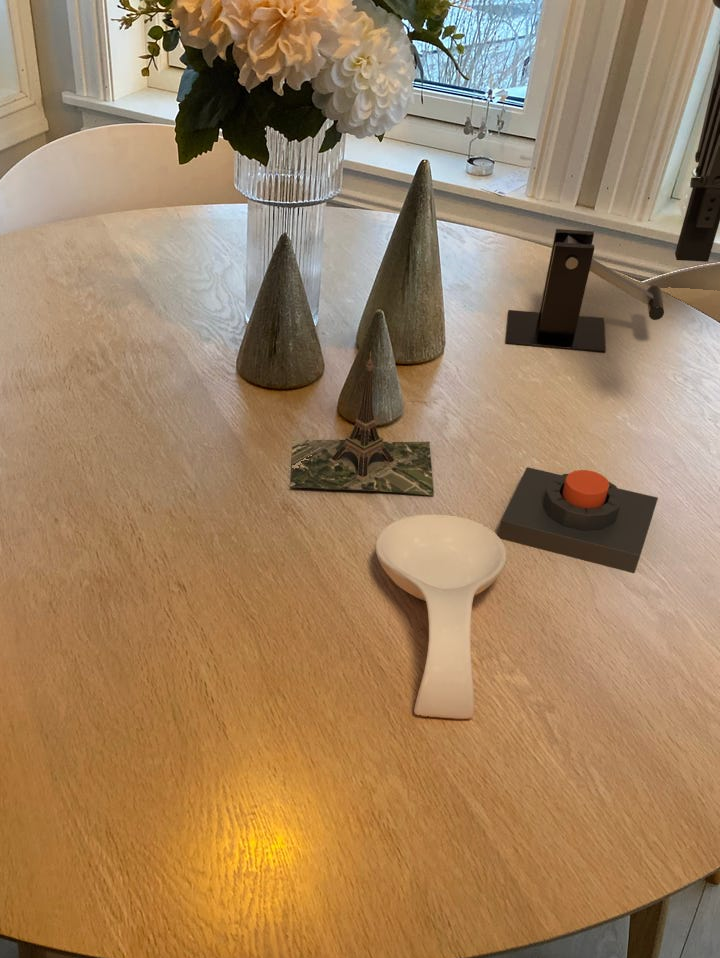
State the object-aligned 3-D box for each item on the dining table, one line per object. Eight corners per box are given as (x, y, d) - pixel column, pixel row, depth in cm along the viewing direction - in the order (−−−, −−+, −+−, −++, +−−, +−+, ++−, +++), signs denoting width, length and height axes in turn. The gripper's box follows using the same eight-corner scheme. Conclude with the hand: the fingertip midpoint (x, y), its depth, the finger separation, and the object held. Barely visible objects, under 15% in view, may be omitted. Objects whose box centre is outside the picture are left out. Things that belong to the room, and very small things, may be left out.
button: (608, 490, 96) (613, 475, 95) (600, 513, 93) (604, 497, 92) (567, 480, 97) (571, 465, 96) (557, 502, 95) (561, 487, 93)
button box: (652, 515, 99) (663, 481, 96) (634, 574, 92) (645, 540, 90) (523, 484, 103) (529, 451, 100) (497, 538, 97) (503, 505, 94)
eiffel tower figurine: (287, 493, 103) (289, 376, 94) (293, 440, 110) (295, 327, 101) (433, 498, 102) (449, 381, 92) (429, 444, 109) (443, 330, 100)
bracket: (601, 327, 128) (626, 227, 119) (603, 360, 122) (629, 257, 113) (506, 319, 130) (524, 220, 121) (503, 351, 124) (521, 249, 115)
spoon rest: (372, 538, 97) (377, 476, 92) (494, 543, 96) (506, 481, 91) (373, 718, 80) (379, 655, 75) (521, 726, 79) (538, 663, 74)
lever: (652, 303, 123) (666, 287, 121) (655, 325, 119) (669, 308, 117) (555, 246, 121) (568, 228, 119) (555, 266, 117) (568, 248, 115)
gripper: (715, -69, 80) (643, 228, 96) (737, -37, 70) (653, 285, 87) (816, -70, 78) (725, 231, 94) (852, -37, 69) (745, 290, 85)
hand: (691, 257), depth 91 cm, fingers closed
